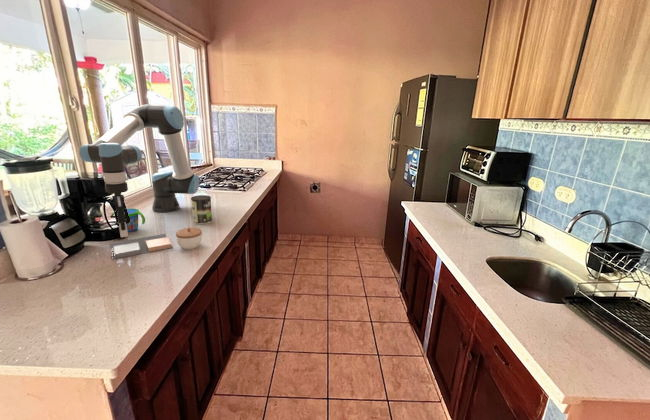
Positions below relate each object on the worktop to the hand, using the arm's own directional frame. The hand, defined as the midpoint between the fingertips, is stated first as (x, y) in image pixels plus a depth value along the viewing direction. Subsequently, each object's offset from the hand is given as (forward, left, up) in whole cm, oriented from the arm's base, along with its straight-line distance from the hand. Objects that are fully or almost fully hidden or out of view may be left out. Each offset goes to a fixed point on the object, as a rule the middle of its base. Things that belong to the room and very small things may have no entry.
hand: (124, 236), depth 130 cm
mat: (-3, +6, -7) cm, 9 cm away
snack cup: (-28, +3, -7) cm, 29 cm away
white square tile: (-3, 0, -6) cm, 6 cm away
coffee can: (-24, +38, -7) cm, 45 cm away
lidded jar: (+9, +24, -7) cm, 27 cm away
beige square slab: (-3, +12, -6) cm, 14 cm away
